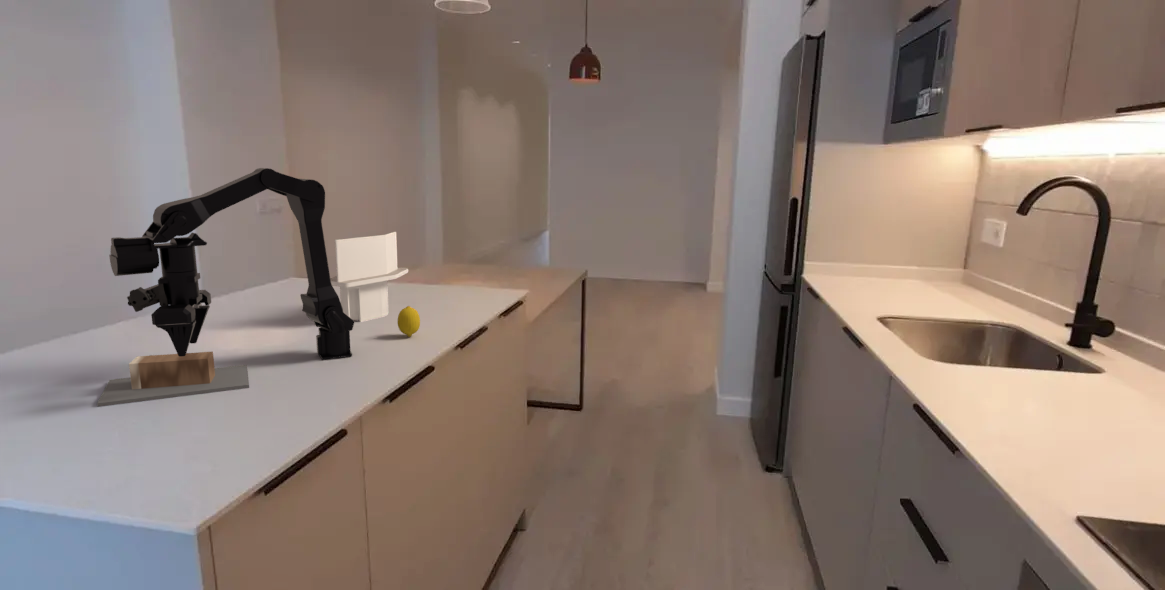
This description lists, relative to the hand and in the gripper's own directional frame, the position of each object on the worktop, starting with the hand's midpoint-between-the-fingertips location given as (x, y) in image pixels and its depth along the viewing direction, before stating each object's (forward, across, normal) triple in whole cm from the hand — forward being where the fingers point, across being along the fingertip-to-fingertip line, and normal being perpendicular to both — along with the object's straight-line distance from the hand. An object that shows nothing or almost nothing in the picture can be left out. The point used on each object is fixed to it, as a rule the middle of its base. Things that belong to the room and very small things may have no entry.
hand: (187, 349), depth 126 cm
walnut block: (+4, 0, +4) cm, 5 cm away
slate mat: (+7, 0, -2) cm, 7 cm away
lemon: (+7, -25, +44) cm, 51 cm away
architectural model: (+7, -51, +34) cm, 62 cm away
